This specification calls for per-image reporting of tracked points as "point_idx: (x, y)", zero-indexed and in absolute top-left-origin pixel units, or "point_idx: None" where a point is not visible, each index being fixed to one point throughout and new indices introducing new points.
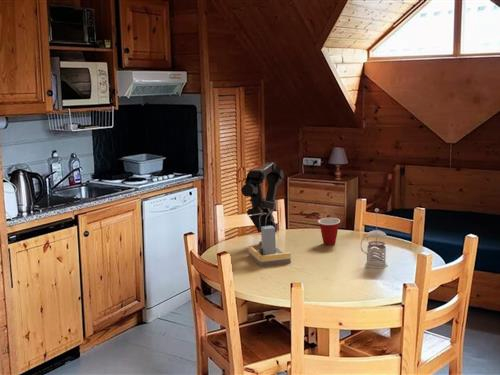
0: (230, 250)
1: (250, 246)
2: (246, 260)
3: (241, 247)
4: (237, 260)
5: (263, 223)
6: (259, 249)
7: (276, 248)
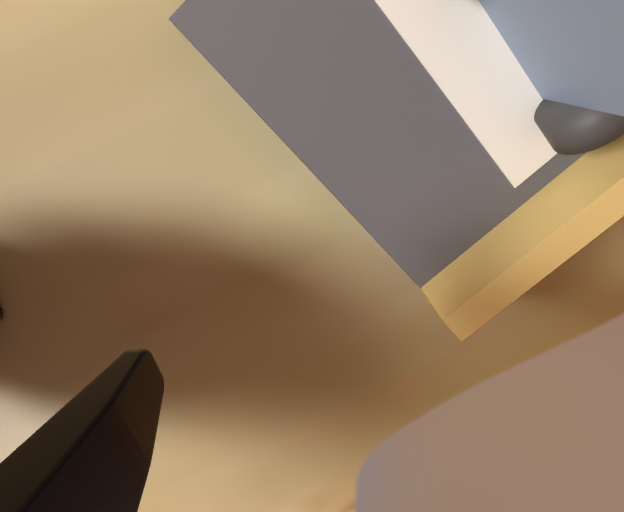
0: (317, 494)
1: (475, 312)
2: None
3: (184, 465)
4: (604, 303)
5: (88, 503)
6: (616, 129)
7: (194, 19)
